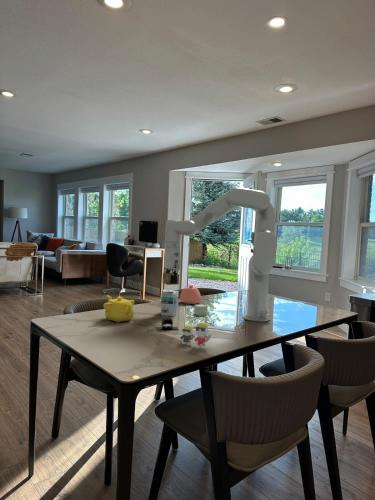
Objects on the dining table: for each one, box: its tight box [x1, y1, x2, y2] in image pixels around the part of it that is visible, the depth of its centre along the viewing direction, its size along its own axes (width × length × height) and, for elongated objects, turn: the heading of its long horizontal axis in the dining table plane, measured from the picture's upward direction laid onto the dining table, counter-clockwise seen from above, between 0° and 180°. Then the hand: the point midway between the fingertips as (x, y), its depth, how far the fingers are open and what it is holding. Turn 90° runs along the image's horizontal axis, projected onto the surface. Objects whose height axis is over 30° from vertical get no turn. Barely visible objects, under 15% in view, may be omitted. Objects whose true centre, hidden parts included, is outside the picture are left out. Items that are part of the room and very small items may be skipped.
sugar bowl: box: [179, 284, 202, 305], centre depth 204 cm, size 12×14×10 cm
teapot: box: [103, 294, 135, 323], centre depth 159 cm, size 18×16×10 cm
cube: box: [193, 304, 208, 317], centre depth 176 cm, size 4×4×4 cm
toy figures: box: [180, 322, 212, 350], centre depth 128 cm, size 12×4×8 cm, turn 56°
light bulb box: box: [160, 289, 180, 317], centre depth 175 cm, size 11×7×11 cm, turn 171°
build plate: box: [155, 317, 180, 332], centre depth 148 cm, size 12×7×5 cm, turn 103°
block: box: [161, 272, 180, 286], centre depth 174 cm, size 6×6×5 cm
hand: (170, 282), depth 174 cm, fingers closed on block, 6 cm apart
